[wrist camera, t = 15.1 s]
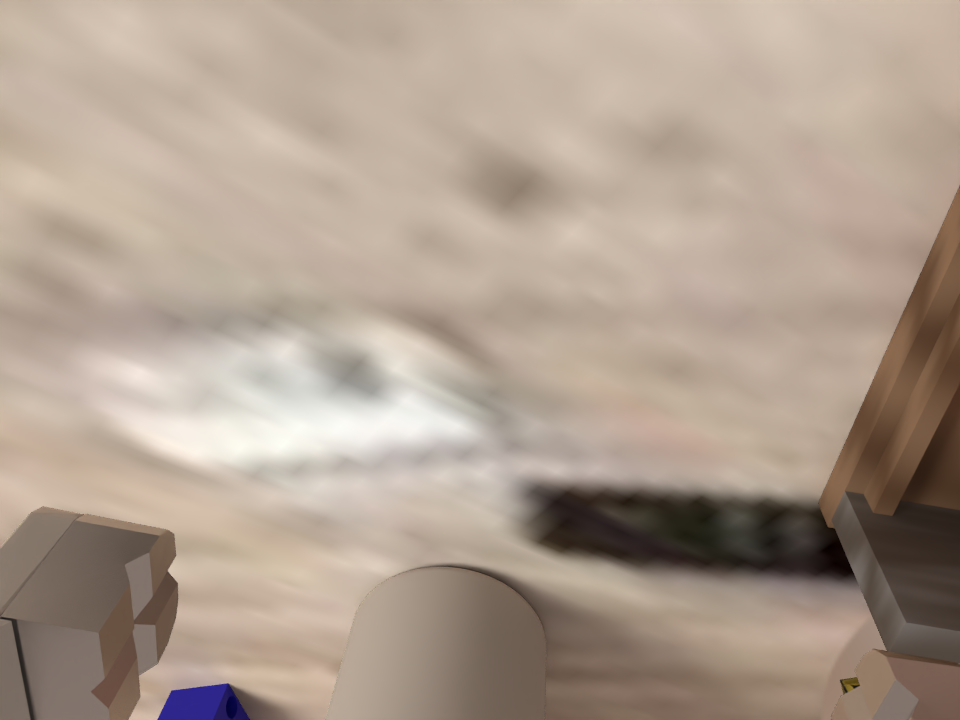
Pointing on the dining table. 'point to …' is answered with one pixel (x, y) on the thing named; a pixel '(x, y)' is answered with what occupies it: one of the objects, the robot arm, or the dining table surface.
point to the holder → (910, 469)
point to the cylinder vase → (442, 651)
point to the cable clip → (203, 704)
